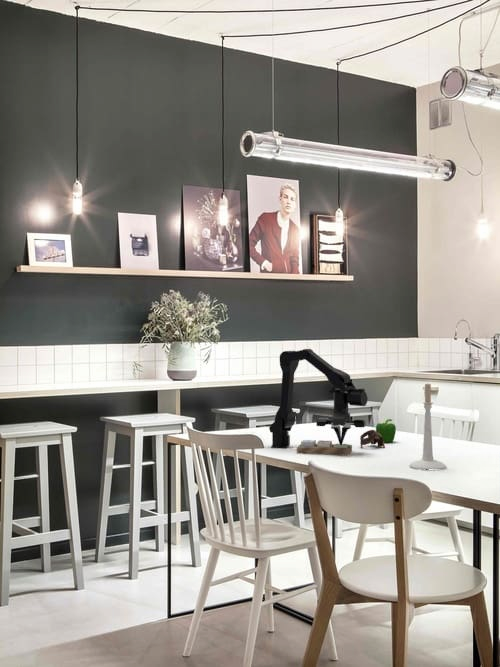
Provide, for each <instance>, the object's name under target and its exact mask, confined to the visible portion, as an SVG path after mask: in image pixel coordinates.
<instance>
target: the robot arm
mask: <svg viewBox="0 0 500 667" xmlns="http://www.w3.org/2000/svg"><path fill="white" fill-rule="evenodd" d="M304 360H305V361H306V362H308V363H309V364H310V365H312V366H313V367H314V368H315V369H316V370H318V371H319V372H321V373H322V374H323V375H324V376H325V377H326V378H327V381H328V382H329V383H330V384H331V385H332V387H331V389H330V390H328V393H329V394H333V413H332V416H331V419H329V417H319V418H317V419H316V427H325V426H326V425H329V426H330V425H331V427H330V429H332V430H334V433H335V435H336V437H337V440H338V444H340V445H342V444H344V440H345V436H346V435H347V432H348V430H351V428H352V426H354V427H355V428H365V427H366V421H367V420H366V419H365V418H355V419H354V420H351V412H350V413H349V406H351V407H352V406H354V407H356V406H357V407H366V406H367V403H368V394H367V392H366V389H365V388H356V386H355V384H354V383H353V381H352V380H351V375H350V374H349V373H348V372H345V371H343V370H341V369H339V368H336V367H334V366H333V365H331V364H330V363H328V361H326V360H325V359H323V357H321V356H320V355H318V354H317V353H316V352H315V351H314V350H313V349H312V348H304V349H302V350H301V349H300V350H284V351H282V352H281V353H280V354H279V366H280V369H281V372H282V374H281V375H282V376H281V385H280V386H281V389H280V399H279V402H280V403H279V407H278V409H277V411H276V412H275V418H274V422H273V423H272V424H271V425H270V426H269V427H268V430H269V432H270V433H271V434H272V435H271V436H272V437H271V438H272V439H271V440H272V441H271V442H272V443H271V444H272V445H271V448H280V449H281V448H283V449H287V448H289V447H290V445H291V435H290V433H289V432H291V431H292V428H293V426H294V425H295V422H297V418H296V417H297V411H294V410H293V394H294V384H295V383H294V382H295V381H294V380H295V372H296V370H297V368H298V367H299V363H300V361H301V362H302V361H304Z"/></svg>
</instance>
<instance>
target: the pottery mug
mask: <svg viewBox="0 0 500 667" xmlns="http://www.w3.org/2000/svg"><path fill="white" fill-rule="evenodd" d="M359 437H360V438H359V439H360V447H361V448H363V446H366V445H368V444H371V445H376V444H377V447H383V449H385V448H386V446H385V443H384V441H383V438H382V436H381V435H380V434H379V433H377V432H376V429H370V430H366V431H364V432H363V433H362V434H361V435H360V436H359Z"/></svg>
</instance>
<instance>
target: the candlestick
mask: <svg viewBox="0 0 500 667" xmlns="http://www.w3.org/2000/svg"><path fill="white" fill-rule="evenodd" d="M431 386H432V385H431V383H425V384H424V402H422V403H423V408H424V410H425V413H424V427H423V428H424V429H423V445H422V458H421V459H418V460H414V461H412V462H411V463H410V464H409V466H408V467H409V468H410V469H414V470H418V469H427V470H426V471H430V470H429V469H443V470H446V469H447V465H446V464H445V463H443V462H442V461H439V460H437V459H434V456H433V454H434V453H433V434H432V432H433V431H432V416H431V414H432V413H431V409H432V408H433V406H432V404H433V402H432V399H431V398H432V397H431V392H432V387H431ZM445 468H446V469H445Z"/></svg>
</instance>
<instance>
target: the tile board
mask: <svg viewBox="0 0 500 667" xmlns="http://www.w3.org/2000/svg"><path fill="white" fill-rule="evenodd" d="M335 444H336V443H335ZM335 444H334V443H332V447H317V443H316V446H315V447H305V446H301V444H299V445H298V446H296V454H297V453H303V454H304V455H324V456H325V455H329V456H349V455H350V454H351V453H352V451H353V444H348V448H334V445H335ZM303 454H302V455H303Z"/></svg>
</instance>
